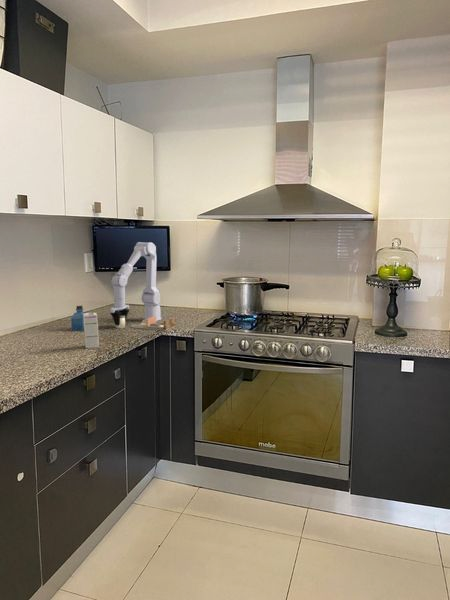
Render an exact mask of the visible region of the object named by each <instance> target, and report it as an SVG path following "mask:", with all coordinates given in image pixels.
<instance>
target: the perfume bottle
mask: <svg viewBox="0 0 450 600" xmlns="http://www.w3.org/2000/svg"><path fill="white" fill-rule="evenodd" d="M75 307H76V308H75V311H76V312H73V314H72V316H71V319H70V322H71V331H75V330H77V331H78V332H79V331H80V332H84V321H83V313H87V312H86V311H84V307H83V305H76V306H75Z"/></svg>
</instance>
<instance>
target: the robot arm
mask: <svg viewBox="0 0 450 600" xmlns="http://www.w3.org/2000/svg"><path fill="white" fill-rule="evenodd" d="M141 257H143V258H144V259H146V270H145V272H146V273H145V278H146V279H145V288H144V289H143V290H142V294H141V302H142V304H143V305H144V319H141V322H142V321H146V319H148V318H151V317H154V316H156V321H157V322H159V321H161V320H162V319H163V317H161V316H162V315H161V310H162V309H161V306H160V303H161V299H162V298H161V295H160V291H159V290H160V289H158V288H157V260H158V259H157V246H156V245H155V244H154V243H153V242H141V241H138V242H136V244H135V246H134V247H133V252H132V254H131V255H130V257H129V259H128V261H127V263H123V264H122V265H121V267H120V269H119V270H118V271H117V273H116V274H115V275H113V276H112V277H111V280H110V284H111V285H112V289H113V306H112V307H111V308H109V313H110V315H111V317H112V319H113V322H114V325H119V324H120V316H121V315H125V323H126V321H127V317H128V315H129V313H130V304H126V286H127V284H128V280H129V277H130V275H131V274H132V272H133V271H134V269H133V268H134V265H135V264H136V263H137V262H138V261H139V259H140V258H141Z"/></svg>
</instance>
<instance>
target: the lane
mask: <svg viewBox="0 0 450 600" xmlns="http://www.w3.org/2000/svg"><path fill="white" fill-rule="evenodd" d="M157 323H161V325H160V326H157V327H156V326H146V321H142V320H141V323H139V324H133V323H132V324H130V325H131V326H130V327H131V329H133V328H134V329H140V330H141V329H143V330H153V331H155V330H156V331H164V332H165V331H168V330H171V329H173V328H175V327H177V317H176V316H174V317H171V318H168V319H166V320H163V322H162V321H157Z"/></svg>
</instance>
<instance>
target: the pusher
mask: <svg viewBox="0 0 450 600" xmlns="http://www.w3.org/2000/svg"><path fill="white" fill-rule="evenodd" d="M157 322H158V321H156V316H154V317H151V318H148V319H146V326H156V327H157V326H160V325H161V323H157Z"/></svg>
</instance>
